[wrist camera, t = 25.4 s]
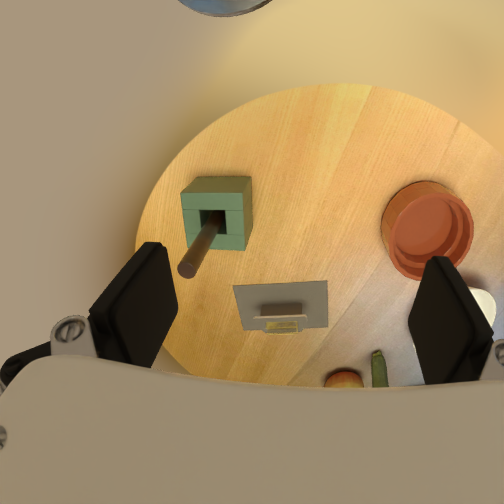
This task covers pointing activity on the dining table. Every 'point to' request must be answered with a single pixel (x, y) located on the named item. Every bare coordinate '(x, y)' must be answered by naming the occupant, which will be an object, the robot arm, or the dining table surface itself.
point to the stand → (219, 198)
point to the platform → (283, 306)
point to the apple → (344, 381)
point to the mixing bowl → (426, 227)
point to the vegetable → (379, 371)
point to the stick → (201, 245)
